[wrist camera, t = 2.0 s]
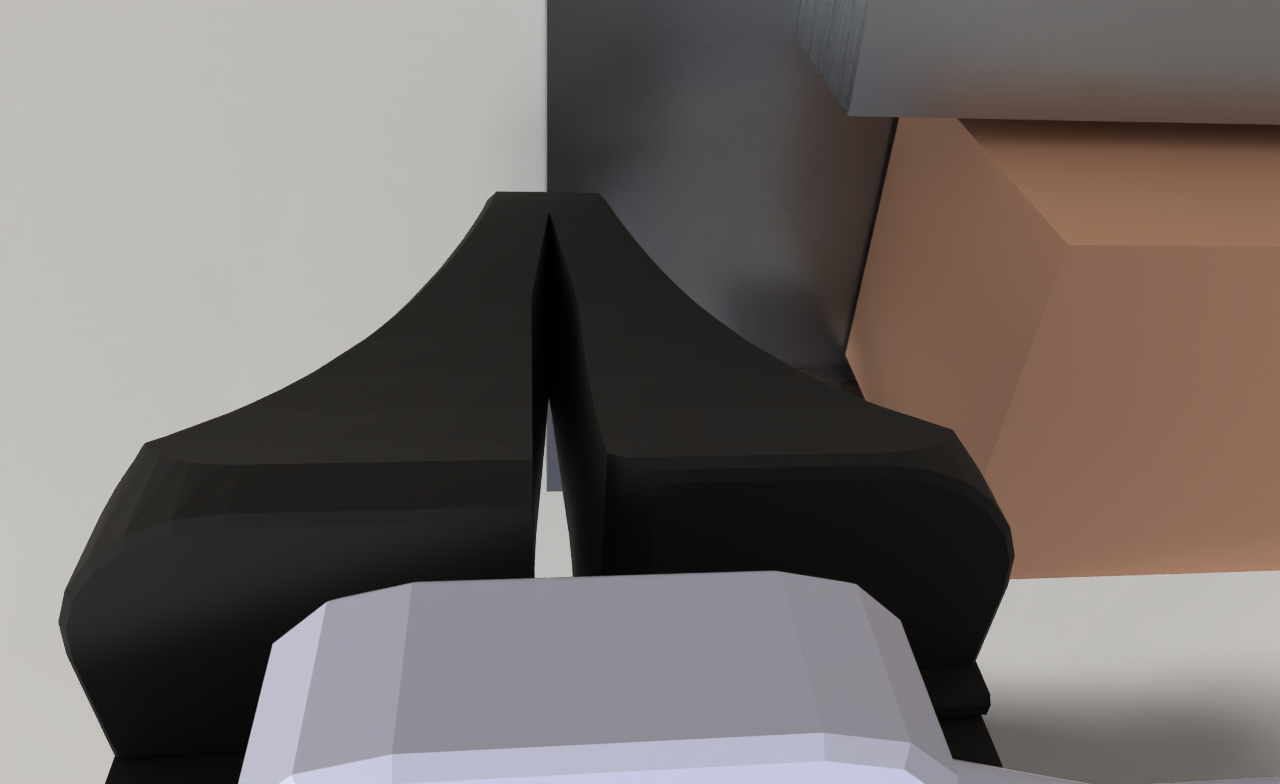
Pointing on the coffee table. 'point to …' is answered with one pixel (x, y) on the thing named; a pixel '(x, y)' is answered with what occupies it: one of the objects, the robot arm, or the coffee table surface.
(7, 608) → the coffee table surface
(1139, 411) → the block
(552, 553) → the coffee table surface
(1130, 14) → the chute
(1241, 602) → the coffee table surface
